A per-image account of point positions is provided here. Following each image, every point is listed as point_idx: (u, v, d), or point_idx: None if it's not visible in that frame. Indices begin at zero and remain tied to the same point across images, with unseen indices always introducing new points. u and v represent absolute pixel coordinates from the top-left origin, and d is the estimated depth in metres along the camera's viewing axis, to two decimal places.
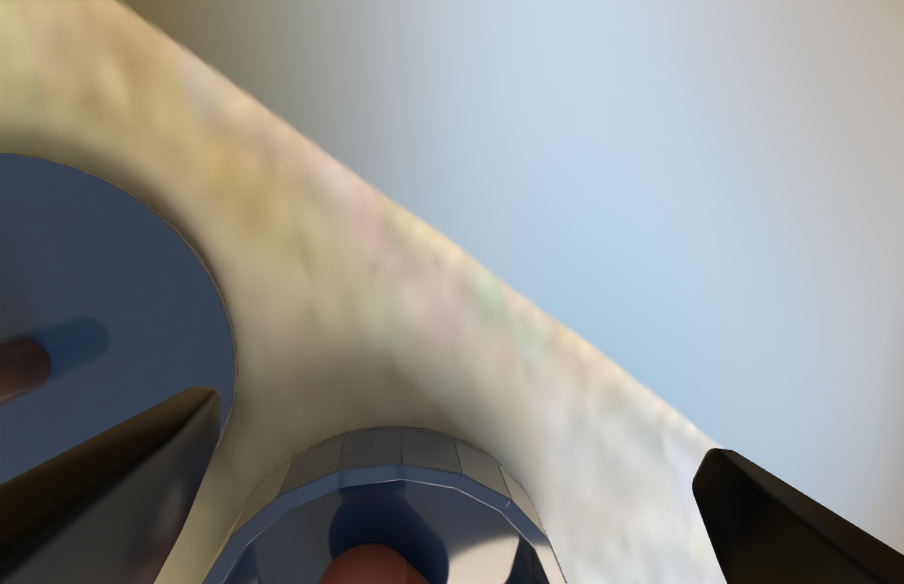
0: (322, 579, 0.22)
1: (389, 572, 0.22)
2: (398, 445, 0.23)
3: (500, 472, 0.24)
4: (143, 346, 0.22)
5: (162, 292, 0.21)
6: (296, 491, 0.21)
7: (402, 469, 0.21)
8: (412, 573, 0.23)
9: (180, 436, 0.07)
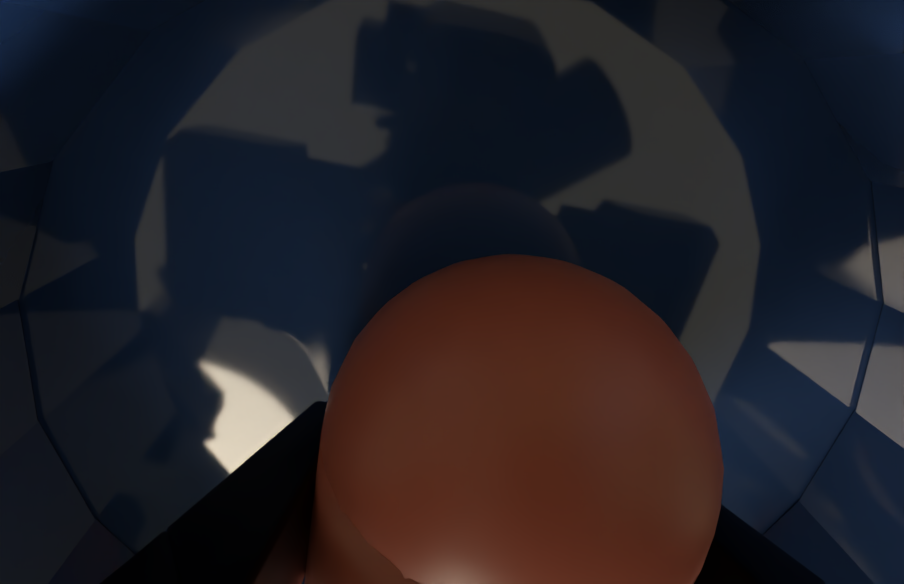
0: (513, 269, 0.05)
1: None
2: None
3: None
4: None
5: None
6: None
7: None
8: None
9: None
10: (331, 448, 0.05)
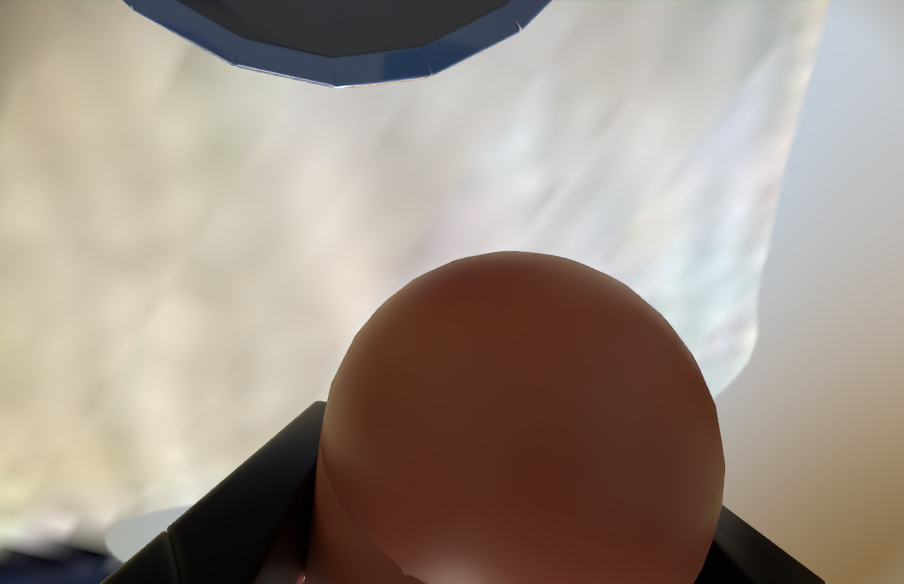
0: (514, 265, 0.05)
1: None
2: None
3: None
4: None
5: None
6: None
7: None
8: None
9: None
10: (331, 445, 0.05)
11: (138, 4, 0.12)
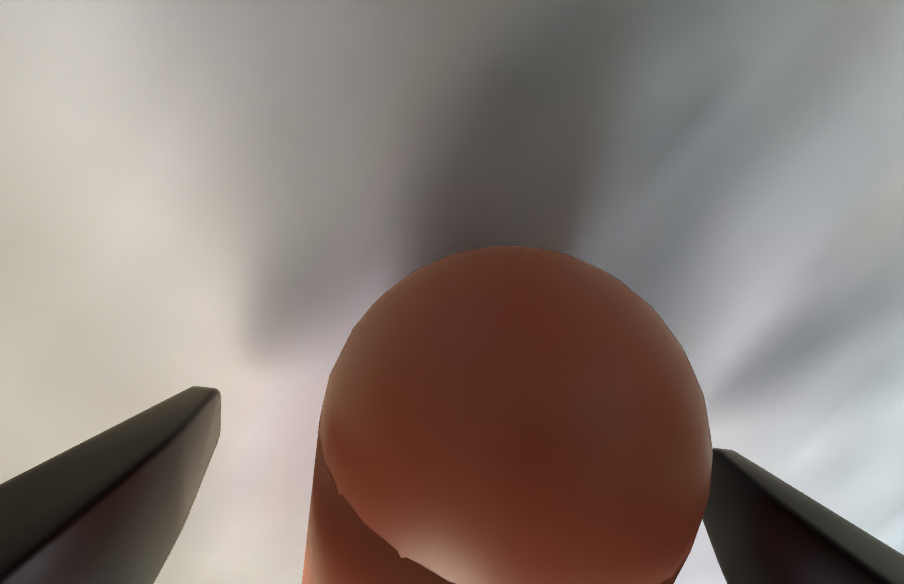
0: (507, 259, 0.06)
1: None
2: None
3: None
4: None
5: None
6: None
7: None
8: None
9: (180, 436, 0.07)
10: (329, 434, 0.05)
11: None
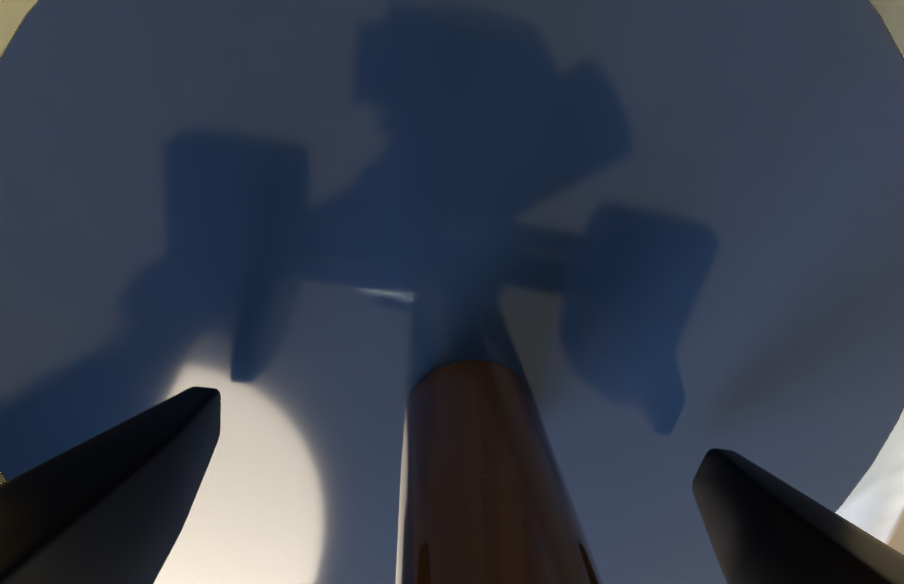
0: None
1: None
2: None
3: None
4: (633, 539, 0.11)
5: None
6: None
7: None
8: None
9: (180, 436, 0.07)
10: None
11: None
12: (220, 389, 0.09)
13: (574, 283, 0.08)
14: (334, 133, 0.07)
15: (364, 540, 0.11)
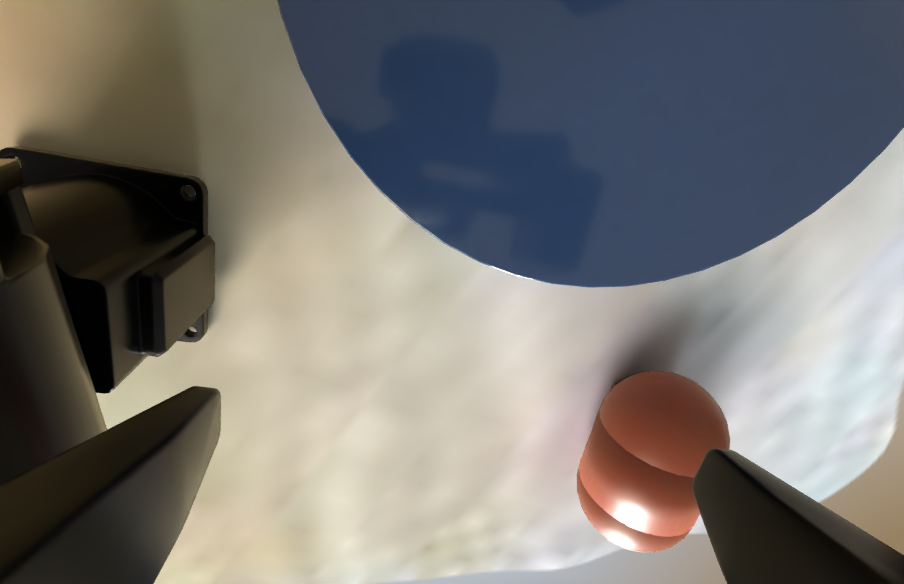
0: (668, 382, 0.19)
1: None
2: None
3: None
4: (771, 97, 0.13)
5: (871, 66, 0.13)
6: None
7: None
8: None
9: (180, 436, 0.07)
10: (619, 434, 0.19)
11: None
12: None
13: None
14: None
15: (550, 79, 0.12)
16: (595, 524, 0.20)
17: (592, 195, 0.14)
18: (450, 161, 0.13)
